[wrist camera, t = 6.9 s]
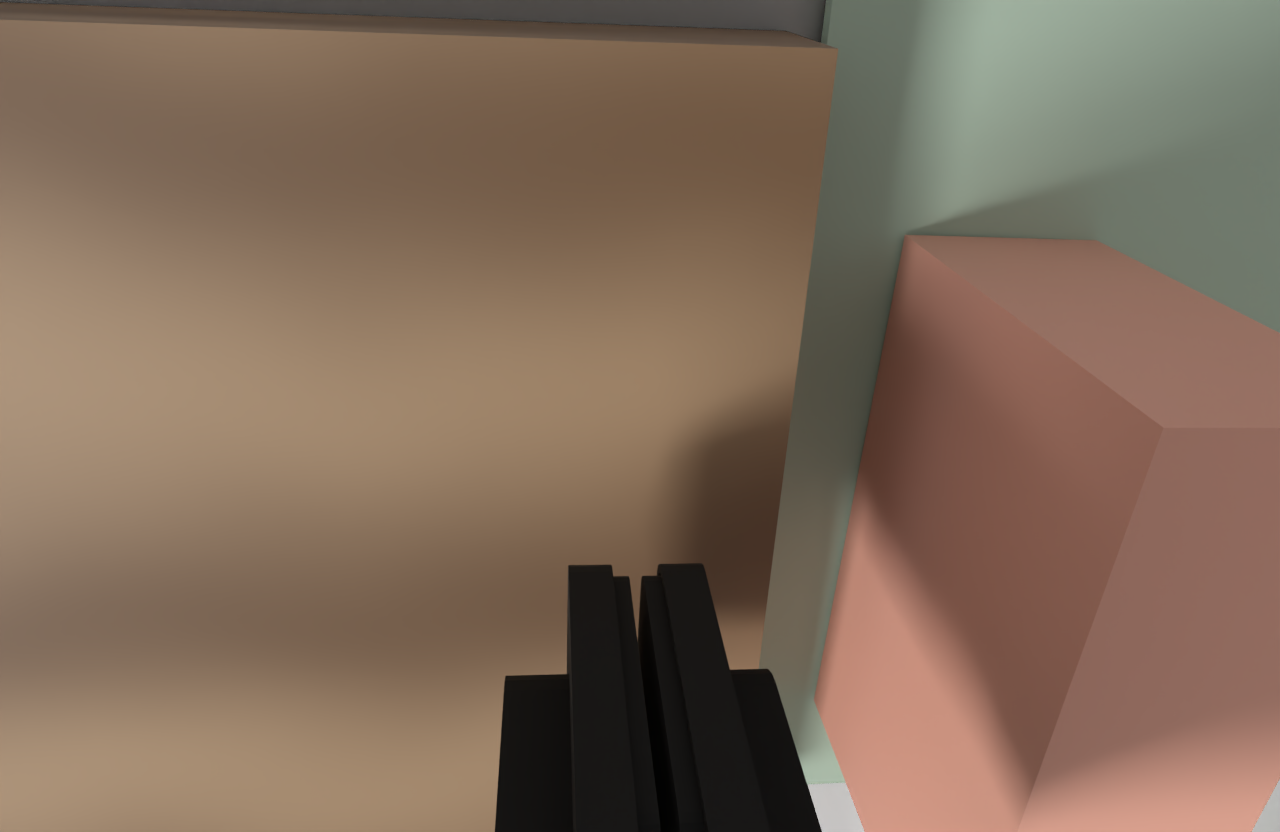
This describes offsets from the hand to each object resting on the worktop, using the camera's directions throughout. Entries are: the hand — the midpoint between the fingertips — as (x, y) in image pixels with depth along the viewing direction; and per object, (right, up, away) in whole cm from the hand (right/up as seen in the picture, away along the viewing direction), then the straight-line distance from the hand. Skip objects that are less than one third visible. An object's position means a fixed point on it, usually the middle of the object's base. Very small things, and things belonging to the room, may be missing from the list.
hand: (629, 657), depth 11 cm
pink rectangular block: (+6, 0, +1) cm, 6 cm away
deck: (-7, +2, +3) cm, 8 cm away
